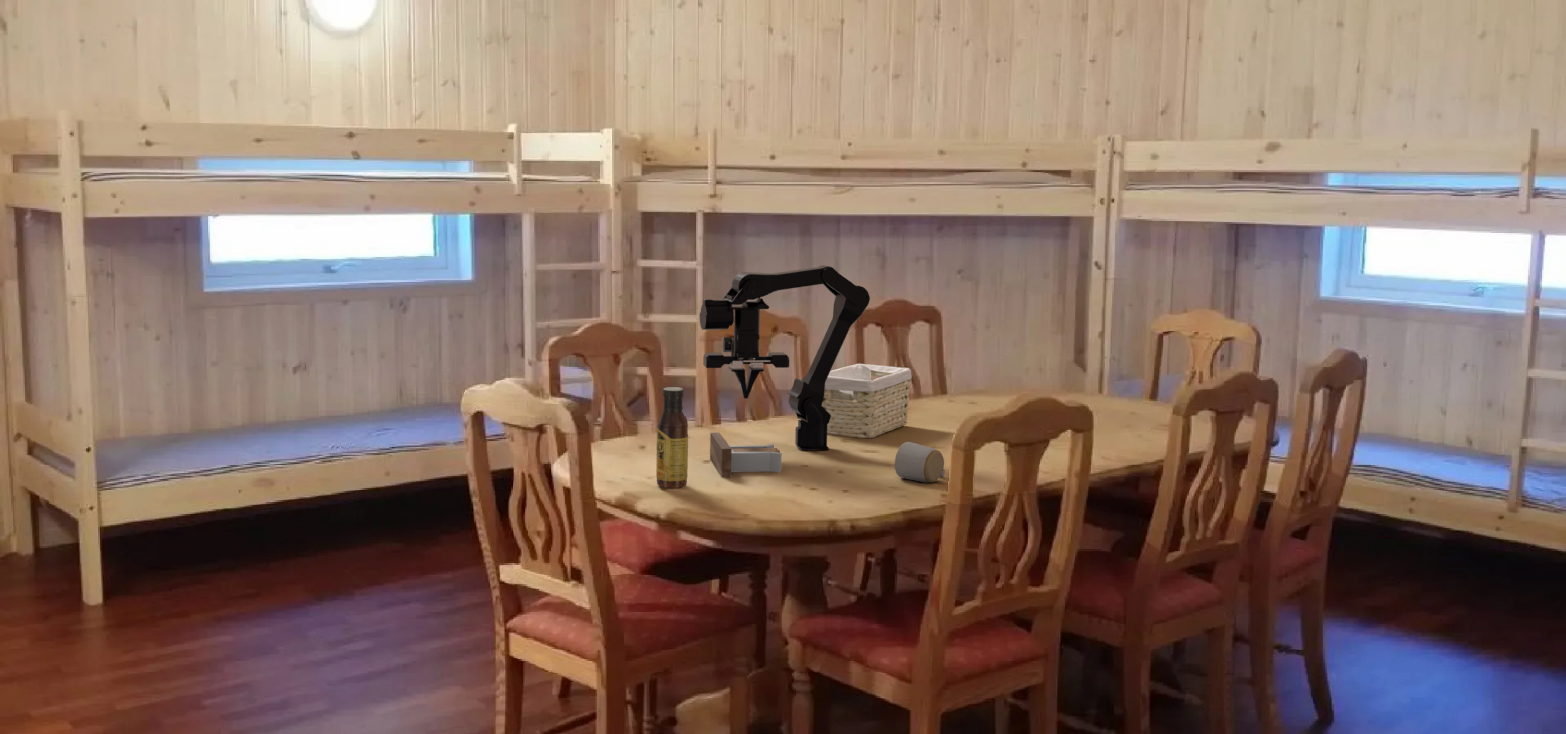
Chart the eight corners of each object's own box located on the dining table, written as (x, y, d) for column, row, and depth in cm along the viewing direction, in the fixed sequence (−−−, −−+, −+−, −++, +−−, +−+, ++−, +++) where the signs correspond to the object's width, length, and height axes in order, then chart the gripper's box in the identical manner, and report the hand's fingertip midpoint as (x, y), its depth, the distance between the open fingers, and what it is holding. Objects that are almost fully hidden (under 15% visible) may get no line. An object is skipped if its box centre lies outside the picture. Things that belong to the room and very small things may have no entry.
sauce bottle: (656, 482, 292) (657, 385, 289) (687, 482, 293) (688, 385, 290) (656, 489, 286) (656, 390, 283) (687, 489, 286) (688, 390, 283)
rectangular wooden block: (776, 466, 311) (776, 447, 311) (779, 470, 308) (780, 451, 307) (730, 467, 310) (730, 448, 309) (733, 470, 306) (733, 452, 305)
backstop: (719, 459, 316) (719, 432, 315) (731, 477, 298) (731, 448, 297) (710, 459, 315) (710, 432, 315) (721, 477, 298) (721, 448, 297)
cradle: (773, 462, 314) (773, 443, 314) (781, 472, 304) (782, 453, 303) (721, 462, 312) (721, 444, 312) (728, 473, 302) (728, 454, 301)
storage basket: (870, 441, 341) (872, 379, 339) (810, 433, 349) (811, 373, 347) (912, 426, 362) (914, 368, 360) (855, 419, 369) (856, 362, 367)
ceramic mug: (925, 486, 294) (927, 449, 293) (892, 480, 299) (894, 443, 298) (954, 479, 302) (956, 443, 301) (921, 473, 307) (923, 437, 306)
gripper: (781, 325, 331) (779, 392, 334) (700, 325, 328) (699, 393, 330) (790, 330, 321) (789, 400, 323) (707, 330, 317) (706, 401, 319)
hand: (745, 398), depth 324 cm, fingers closed
